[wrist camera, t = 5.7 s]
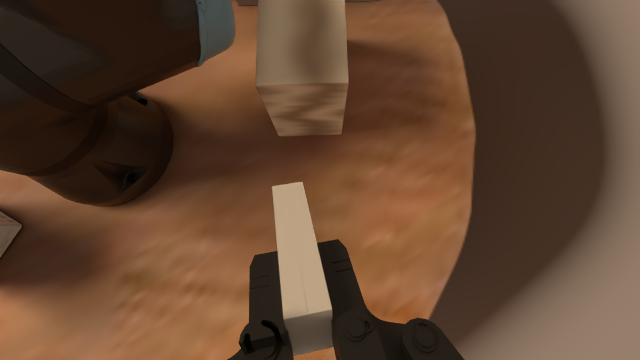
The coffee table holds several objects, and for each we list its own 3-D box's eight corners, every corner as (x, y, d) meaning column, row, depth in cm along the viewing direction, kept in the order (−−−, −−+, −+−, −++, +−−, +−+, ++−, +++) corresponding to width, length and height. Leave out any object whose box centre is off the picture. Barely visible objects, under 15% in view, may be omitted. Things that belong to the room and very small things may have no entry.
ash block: (278, 136, 36) (255, 85, 24) (279, 41, 39) (259, -46, 27) (341, 134, 36) (348, 82, 24) (337, 39, 38) (342, -49, 27)
